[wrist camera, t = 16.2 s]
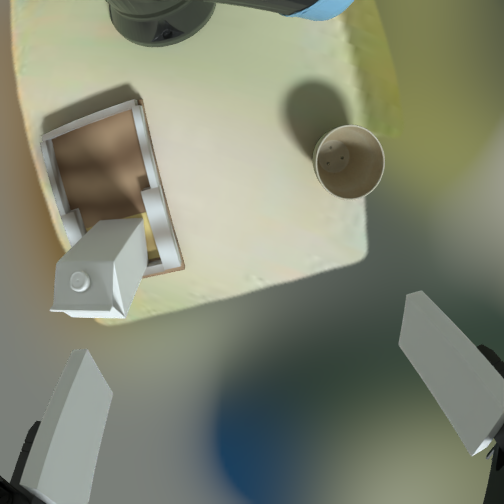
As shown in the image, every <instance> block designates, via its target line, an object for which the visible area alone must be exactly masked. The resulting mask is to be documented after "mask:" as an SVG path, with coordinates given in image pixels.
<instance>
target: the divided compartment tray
mask: <svg viewBox="0 0 504 504" xmlns="http://www.w3.org/2000/svg"><path fill="white" fill-rule="evenodd" d="M41 136H42V141H43V142H41V143H40V144H41V149H42V153H43V157H44V161H45V165H46V169H47V173H48V177H49V180H50V184H51V187H52V191H53V194H54V197H55V201H56V204H57V207H58V210H59V213H60V216H61V219H62V222H63V225H64V228H65V231H66V234H67V236H68V239H69V242H70V245H71V247H73V246H74V245H75V244H76V243H77V242H78V241H79V240H80V239H81V238H82V237H83V236H84V235H85V234H86V233H87V232H88V231H89V230H90V229H91V228H92V227H93V226H94V225H95V224H96V223H97V222H99V221H100V220H112V219H128V218H143V220H144V229H145V238H146V246H147V254H148V261H149V262H148V265H147V267H146V269H145V272H144V274H143V276H142V278H147V277H151V276H156V275H161V274H165V273H170V272H175V271H180V270H184V269H185V264H184V260H183V257H182V254H181V250H180V247H179V244H178V240H177V237H176V233H175V230H174V226H173V223H172V219H171V215H170V212H169V208H168V204H167V201H166V197H165V193H164V189H163V185H162V181H161V177H160V173H159V169H158V165H157V161H156V157H155V153H154V149H153V144H152V140H151V136H150V131H149V127H148V122H147V118H146V113H145V108H144V104H143V100H142V99H140V100H134V99H133V100H130V101H127V102H124V103H121V104H118V105H115V106H112V107H109V108H106V109H103V110H101V111H98V112H95V113H93V114H90V115H88V116H85V117H82V118H80V119H77V120H75V121H73V122H70V123H68V124H65V125H63V126H61V127H59V128H56V129H54V130H52V131H50V132H47V133H45V134H43V135H41Z"/></svg>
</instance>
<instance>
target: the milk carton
mask: <svg viewBox="0 0 504 504" xmlns="http://www.w3.org/2000/svg"><path fill="white" fill-rule="evenodd" d="M148 262H149V261H148V254H147V246H146V238H145V229H144V220H143V218H128V219H112V220H100V221H99V222H97V223H96V224H95V225H94V226H93V227H92V228H91V229H90V230H89V231H88V232H87V233H86V234H85V235H84V236H83V237H82V238H81V239H80V240H79V241H78V242H77V243H76V244H75V245H74V246H73V247H72V248H71V249H70V250H69V251H68V252H67V253H66V254H65V255H64V256H63V257H62V258H61V259H60V260H59V261H58V262H57V264H56V273H55V286H54V305H53V306H52V307H51V309H50V311H56V312H65V313H66V314H68V315H69V316H71V317H84V318H87V317H88V318H126V316H127V313H128V311H129V308H130V306H131V303H132V301H133V298H134V296H135V293H136V291H137V288H138V286H139V284H140V281H141V279H142V276H143V274H144V272H145V269H146V267H147V265H148Z"/></svg>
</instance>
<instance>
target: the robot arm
mask: <svg viewBox="0 0 504 504" xmlns="http://www.w3.org/2000/svg"><path fill="white" fill-rule="evenodd" d="M106 1H107V2H108V3H109V4H110V6H109V12H110V18H111V21H112V23H113V25H114V27H115V28H116V30H117V31H118V32H119V33H120V34H121V35H123V36H124V37H125V38H126V39H128V40H129V41H131V42H133V43H135V44H138V45H141V46H147V47H163V46H168V45H173V44H176V43H179V42H181V41H183V40H186V39H187V38H189V37H191V36H193V35H194V34H195V33H197V32H198V31H199V30H200V29H201V28H202V27H203V26H204V25H205V24H206V23H207V22H208V21H209V19H210V18H211V16H212V14H213V12H214V9H215V6H216V3H222V4H229V5H237V6H243V7H249V8H255V9H261V10H266V11H271V12H276V13H279V14H280V15H282V16H286V17H288V16H289V17H300V18H304V19H309V20H313V21H324V20H329V19H331V18H334V17H336V16H337V15H339V14H340V13H342V12H343V11H344V10H345V9H346V8H347V7H348V6H349V5H350V4H351V3H352V2H353V1H354V0H106ZM399 346H400V348H401V349H402V350H403V352H404V353H405V355H406V356H407V358H408V359H409V360H410V362H411V363H412V365H413V366H414V368H415V369H416V371H417V372H418V374H419V375H420V377H421V378H422V380H423V381H424V382H425V384H426V386H427V387H428V389H429V390H430V392H431V393H432V395H433V396H434V398H435V399H436V401H437V402H438V404H439V405H440V407H441V408H442V410H443V411H444V413H445V415H446V416H447V418H448V419H449V421H450V423H451V424H452V426H453V427H454V429H455V431H456V432H457V434H458V435H459V437H460V439H461V440H462V442H463V444H464V445H465V447H466V449H467V450H468V452H469V454H470V455H471V456H473V455H475V454H476V453H478V452H480V451H481V450H483V449H484V448H486V447H487V446H488V445H489V444H490V442H491V441H492V440H493V438H494V439H495V440H496V442H497V443H496V444H495V446H494V447H493V448H492V449H491V450H490V452H489V453H488V454H487V457H486V459H489V458H490V456H491V455H492V454H493V458H492V465H491V470H490V475H489V480H488V485H487V489H486V494H485V498H484V502H483V504H504V362H503V361H501V359H500V358H499V357H498V356H497V354H496V353H495V352H494V351H493V350H491V349H489V348H488V347H486V346H484V345H479V346H477V347H475V345H474V344H473V343H472V342H471V341H470V340H469V339H468V338H467V337H466V336H465V335H464V334H463V332H462V331H461V330H460V329H459V328H458V327H457V326H456V325H455V324H454V323H453V322H452V321H451V320H450V319H449V318H448V317H447V316H446V315H445V314H444V313H443V312H442V311H441V309H439V308H438V307H437V305H436V304H435V303H433V301H431V299H430V298H429V297H428V296H426V294H424V293H423V292H422V291H417V292H414V293H410V294H407V296H406V303H405V309H404V316H403V322H402V328H401V334H400V340H399ZM112 396H113V392H112V391H111V389H110V387H109V386H108V384H107V382H106V381H105V379H104V378H103V376H102V374H101V372H100V371H99V369H98V367H97V365H96V363H95V362H94V360H93V358H92V357H91V354H90V353H89V351H88V349H79V350H73V351H72V353H71V355H70V357H69V359H68V361H67V363H66V366H65V368H64V370H63V372H62V374H61V376H60V379H59V381H58V383H57V385H56V387H55V390H54V392H53V394H52V397H51V399H50V401H49V404H48V406H47V409H46V411H45V413H44V416H43V418H42V421H36V422H35V424H34V425H33V426H32V427H31V428H30V430H29V431H28V434H27V437H26V439H25V443H24V444H23V447H22V452H20V455H19V458H18V461H17V464H16V467H15V470H14V473H13V476H12V479H11V481H10V483H8V482H7V481H6V480H5V479H3V478H2V477H1V476H0V504H88V503H89V497H90V491H91V486H92V480H93V476H94V471H95V466H96V461H97V457H98V452H99V448H100V443H101V439H102V435H103V431H104V426H105V423H106V419H107V415H108V411H109V407H110V404H111V399H112Z"/></svg>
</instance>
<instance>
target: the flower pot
mask: <svg viewBox="0 0 504 504" xmlns="http://www.w3.org/2000/svg"><path fill="white" fill-rule="evenodd" d="M341 157H343V158H341ZM328 163H329V165H328ZM384 166H385V158H384V152H383V149H382V146H381V144H380V142H379V140H378V139H377V138H376V136H375V135H374V134H373V133H372V132H370V131H369V130H367V129H366V128H364V127H361V126H358V125H343V126H339V127H336V128H334V129H332V130H330V131H328V132H327V133H325V134H324V135H323V136H322V137H321V138H320V140H319V141H318V142H317V144H316V146H315V149H314V152H313V167H314V171H315V174H316V176H317V178H318V180H319V182H320V183H321V185H322V186H323V187H324V189H325V190H326V191H327V192H329V193H330V194H331V195H333V196H334V197H337V198H339V199H343V200H356V199H359V198H362V197H364V196H366V195H368V194H369V193H370V192H372V191H373V190H374V189H375V188H376V186H377V185H378V184H379V182H380V180H381V178H382V175H383V172H384Z"/></svg>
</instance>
